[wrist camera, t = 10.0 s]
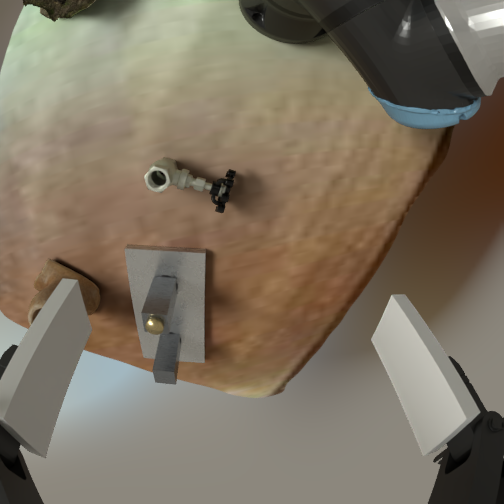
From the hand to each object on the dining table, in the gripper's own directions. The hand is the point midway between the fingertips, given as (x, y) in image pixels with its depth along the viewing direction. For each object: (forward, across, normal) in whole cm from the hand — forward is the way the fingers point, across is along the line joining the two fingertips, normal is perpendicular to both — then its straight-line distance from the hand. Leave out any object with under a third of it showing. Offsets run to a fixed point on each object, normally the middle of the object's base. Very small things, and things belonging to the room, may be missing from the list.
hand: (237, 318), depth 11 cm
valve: (+35, -6, -4) cm, 36 cm away
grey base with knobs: (+35, -10, -30) cm, 47 cm away
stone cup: (+35, -31, -25) cm, 53 cm away
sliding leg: (+33, -10, -23) cm, 41 cm away
